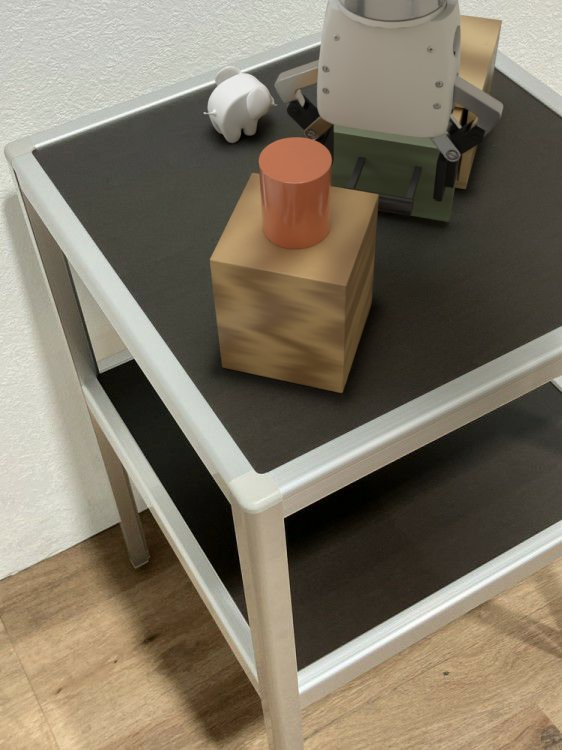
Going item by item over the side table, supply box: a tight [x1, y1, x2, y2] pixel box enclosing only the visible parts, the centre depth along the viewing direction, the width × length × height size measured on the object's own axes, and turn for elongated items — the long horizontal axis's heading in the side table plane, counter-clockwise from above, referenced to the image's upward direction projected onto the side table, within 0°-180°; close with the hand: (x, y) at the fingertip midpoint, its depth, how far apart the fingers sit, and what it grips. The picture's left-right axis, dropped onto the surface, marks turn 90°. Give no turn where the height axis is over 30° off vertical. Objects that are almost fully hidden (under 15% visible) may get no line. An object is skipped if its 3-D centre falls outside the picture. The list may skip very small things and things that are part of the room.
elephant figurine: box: [203, 65, 278, 144], centre depth 95 cm, size 7×8×6 cm
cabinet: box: [455, 14, 503, 190], centre depth 92 cm, size 14×13×10 cm
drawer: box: [332, 107, 468, 223], centre depth 87 cm, size 18×11×8 cm, turn 163°
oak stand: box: [209, 172, 379, 394], centre depth 75 cm, size 10×10×12 cm
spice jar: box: [258, 136, 332, 249], centre depth 68 cm, size 5×5×6 cm
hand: (382, 181), depth 79 cm, fingers open, 9 cm apart
